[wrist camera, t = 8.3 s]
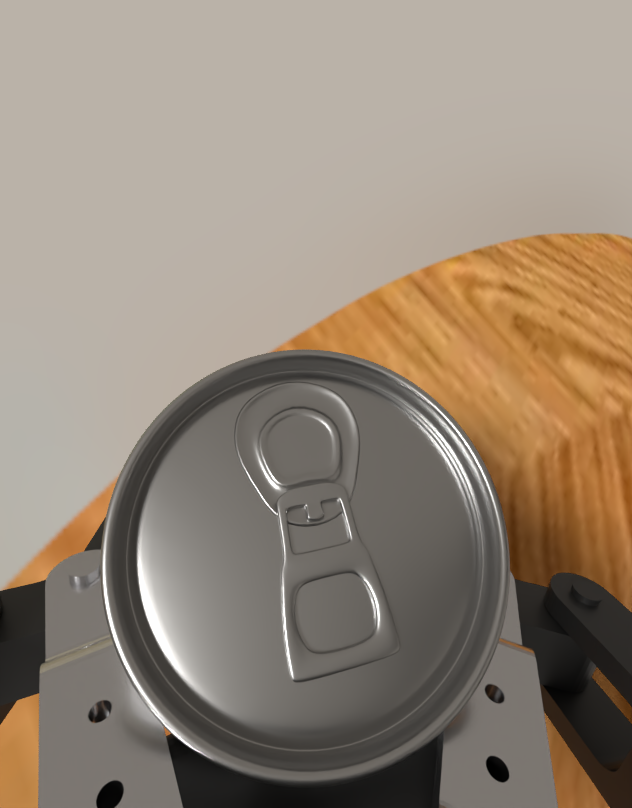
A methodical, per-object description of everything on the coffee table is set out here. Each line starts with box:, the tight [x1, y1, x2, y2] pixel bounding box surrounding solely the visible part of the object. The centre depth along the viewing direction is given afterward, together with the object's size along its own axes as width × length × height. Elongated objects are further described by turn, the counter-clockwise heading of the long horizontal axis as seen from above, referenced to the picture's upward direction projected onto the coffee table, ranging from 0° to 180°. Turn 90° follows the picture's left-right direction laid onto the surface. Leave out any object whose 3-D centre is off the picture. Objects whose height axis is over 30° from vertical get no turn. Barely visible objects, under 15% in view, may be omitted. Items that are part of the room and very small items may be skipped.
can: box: [100, 350, 510, 787], centre depth 11 cm, size 6×6×12 cm
